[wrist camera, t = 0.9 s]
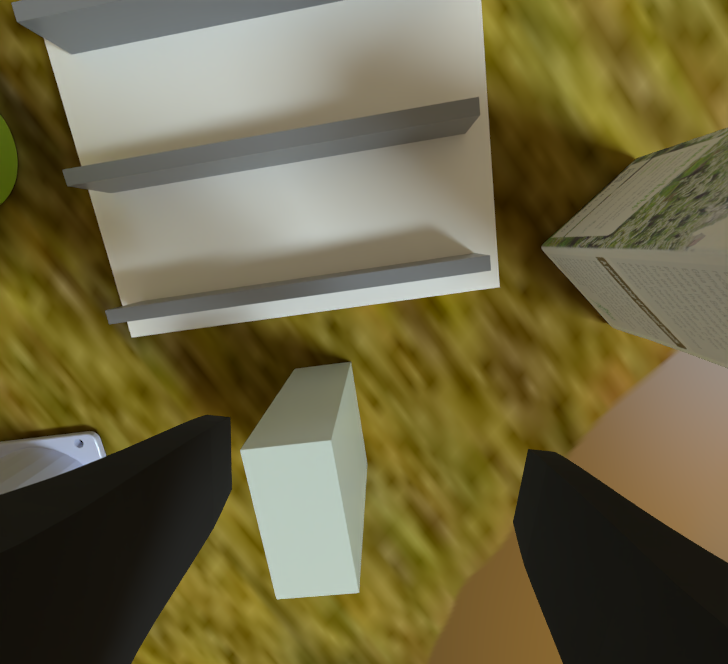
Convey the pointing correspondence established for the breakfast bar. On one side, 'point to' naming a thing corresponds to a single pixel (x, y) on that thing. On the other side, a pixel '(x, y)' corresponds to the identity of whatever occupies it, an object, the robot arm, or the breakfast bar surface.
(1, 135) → the soap dispenser
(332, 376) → the white rectangular block
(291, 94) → the dish rack
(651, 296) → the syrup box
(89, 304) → the breakfast bar surface
